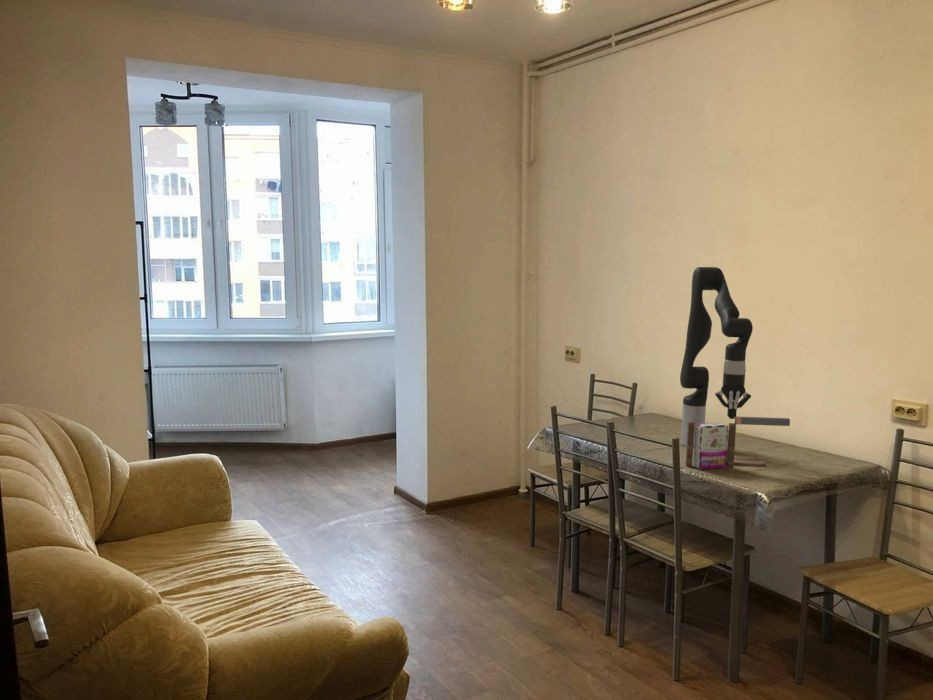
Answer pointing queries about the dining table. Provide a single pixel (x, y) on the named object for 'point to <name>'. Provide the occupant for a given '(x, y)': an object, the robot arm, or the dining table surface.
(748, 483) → the dining table surface
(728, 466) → the posts
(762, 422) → the bar
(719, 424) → the candy bar box
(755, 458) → the walnut board
